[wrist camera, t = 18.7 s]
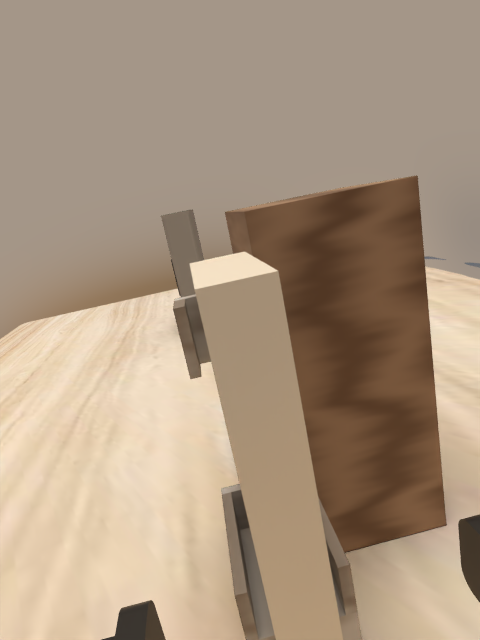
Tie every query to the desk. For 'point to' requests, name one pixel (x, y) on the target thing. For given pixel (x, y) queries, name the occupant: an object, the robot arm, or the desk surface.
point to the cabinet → (345, 373)
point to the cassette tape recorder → (183, 247)
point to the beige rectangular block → (268, 440)
